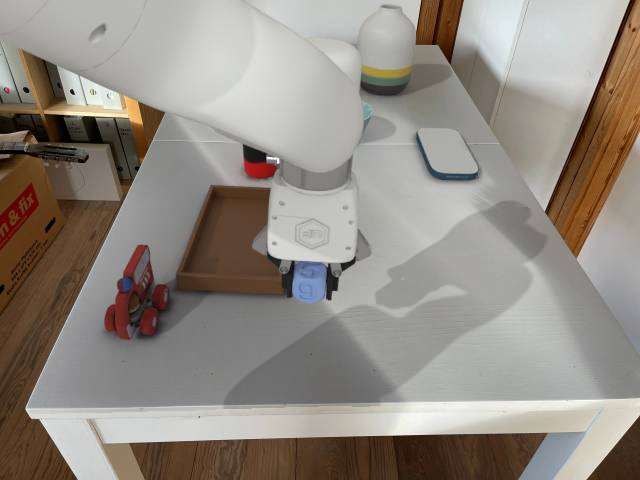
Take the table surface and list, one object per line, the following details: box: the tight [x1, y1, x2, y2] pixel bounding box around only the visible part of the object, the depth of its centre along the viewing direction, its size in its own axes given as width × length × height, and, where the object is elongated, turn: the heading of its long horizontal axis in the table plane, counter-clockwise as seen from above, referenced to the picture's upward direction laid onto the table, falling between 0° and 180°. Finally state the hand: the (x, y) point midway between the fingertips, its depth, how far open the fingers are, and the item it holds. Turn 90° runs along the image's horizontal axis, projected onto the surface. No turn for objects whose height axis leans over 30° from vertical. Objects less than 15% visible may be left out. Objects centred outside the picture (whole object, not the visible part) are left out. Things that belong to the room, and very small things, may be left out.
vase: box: [356, 3, 417, 96], centre depth 148 cm, size 17×17×24 cm
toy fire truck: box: [103, 244, 170, 341], centre depth 75 cm, size 7×12×10 cm, turn 175°
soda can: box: [242, 144, 277, 179], centre depth 110 cm, size 8×8×12 cm
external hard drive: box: [415, 127, 480, 181], centre depth 122 cm, size 24×12×2 cm, turn 1°
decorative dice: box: [292, 261, 328, 304], centre depth 62 cm, size 4×4×4 cm
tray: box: [175, 184, 285, 296], centre depth 93 cm, size 28×18×3 cm, turn 178°
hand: (309, 290), depth 63 cm, fingers closed on decorative dice, 4 cm apart
